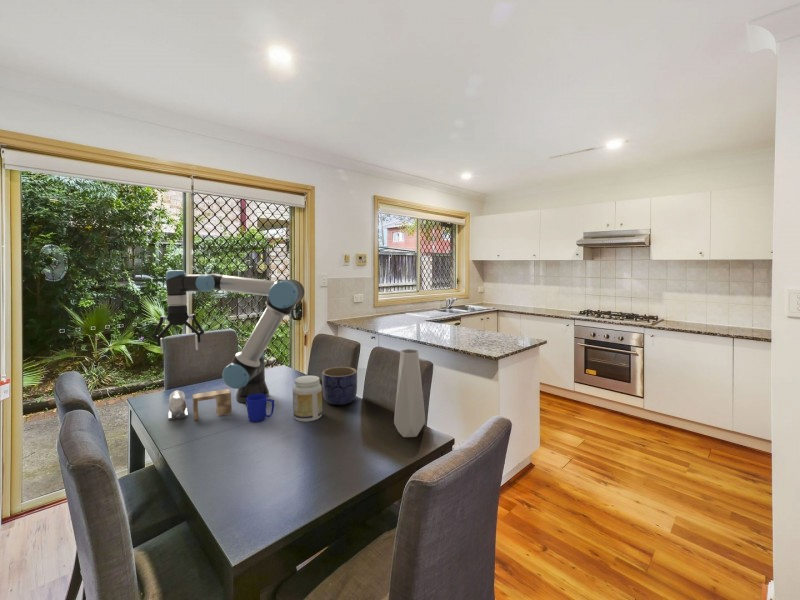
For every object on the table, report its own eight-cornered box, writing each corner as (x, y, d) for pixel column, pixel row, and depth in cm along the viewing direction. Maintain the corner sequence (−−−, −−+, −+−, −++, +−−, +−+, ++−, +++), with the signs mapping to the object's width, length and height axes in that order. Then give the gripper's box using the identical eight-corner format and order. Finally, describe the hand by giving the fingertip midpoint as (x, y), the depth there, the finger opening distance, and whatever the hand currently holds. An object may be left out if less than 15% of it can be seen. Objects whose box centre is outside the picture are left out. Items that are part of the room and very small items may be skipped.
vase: (388, 429, 150) (388, 349, 147) (414, 425, 154) (415, 346, 151) (400, 443, 139) (400, 356, 136) (428, 437, 143) (429, 353, 140)
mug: (269, 425, 154) (268, 401, 153) (242, 422, 156) (241, 399, 155) (279, 417, 162) (278, 394, 161) (254, 414, 164) (253, 392, 163)
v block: (186, 410, 169) (186, 403, 169) (187, 416, 162) (187, 410, 161) (168, 413, 166) (168, 406, 165) (168, 420, 158) (168, 413, 158)
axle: (184, 402, 171) (184, 389, 171) (185, 413, 159) (186, 399, 158) (169, 404, 168) (169, 391, 168) (169, 415, 155) (169, 401, 155)
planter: (364, 399, 183) (364, 369, 182) (341, 410, 169) (341, 378, 168) (338, 393, 192) (338, 364, 191) (315, 403, 178) (314, 372, 177)
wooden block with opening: (229, 408, 171) (229, 388, 170) (231, 413, 166) (230, 392, 165) (193, 415, 163) (192, 394, 162) (194, 420, 158) (193, 398, 157)
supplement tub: (312, 409, 171) (312, 372, 169) (327, 417, 162) (327, 378, 161) (288, 416, 162) (287, 378, 161) (302, 425, 154) (301, 385, 152)
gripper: (207, 302, 177) (209, 346, 179) (143, 305, 164) (147, 353, 166) (209, 303, 171) (211, 349, 173) (143, 307, 158) (146, 356, 160)
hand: (179, 351), depth 169 cm, fingers open, 13 cm apart
